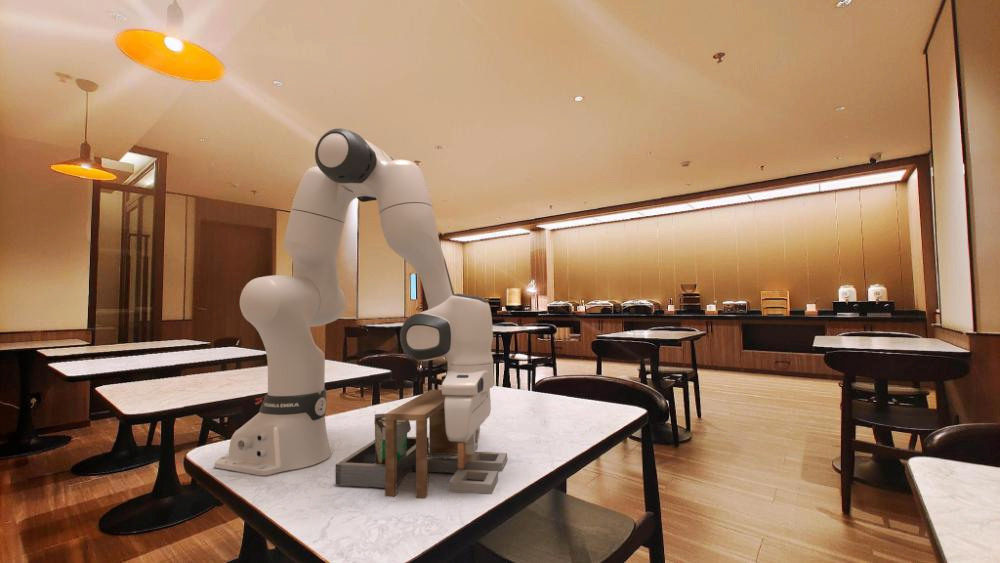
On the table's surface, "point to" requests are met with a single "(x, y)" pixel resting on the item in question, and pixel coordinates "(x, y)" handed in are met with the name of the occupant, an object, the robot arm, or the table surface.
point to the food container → (402, 431)
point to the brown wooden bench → (417, 438)
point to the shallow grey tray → (373, 475)
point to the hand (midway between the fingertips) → (471, 451)
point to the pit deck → (478, 473)
